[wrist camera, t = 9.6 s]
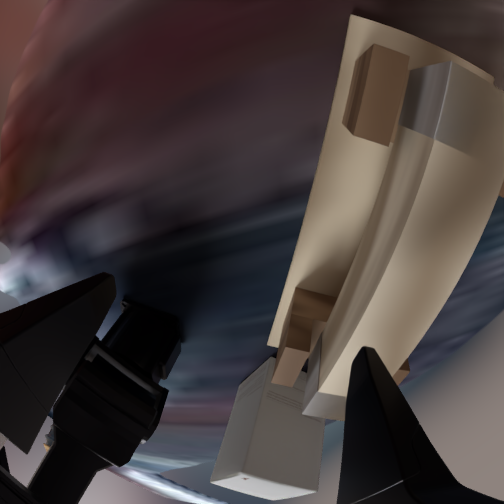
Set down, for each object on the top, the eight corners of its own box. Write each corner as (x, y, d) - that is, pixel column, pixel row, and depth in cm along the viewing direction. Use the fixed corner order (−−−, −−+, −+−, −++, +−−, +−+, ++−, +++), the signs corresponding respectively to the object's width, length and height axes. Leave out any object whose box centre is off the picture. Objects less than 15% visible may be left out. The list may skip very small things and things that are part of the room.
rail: (308, 358, 21) (301, 414, 17) (410, 69, 11) (451, 60, 6) (352, 367, 21) (352, 422, 16) (469, 98, 10) (523, 106, 6)
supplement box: (237, 384, 31) (205, 482, 21) (271, 353, 27) (241, 473, 17) (290, 407, 32) (272, 501, 21) (330, 382, 28) (319, 493, 17)
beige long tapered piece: (269, 337, 26) (252, 400, 20) (349, 18, 13) (364, -22, 7) (369, 359, 25) (372, 421, 19) (487, 77, 12) (550, 80, 6)
